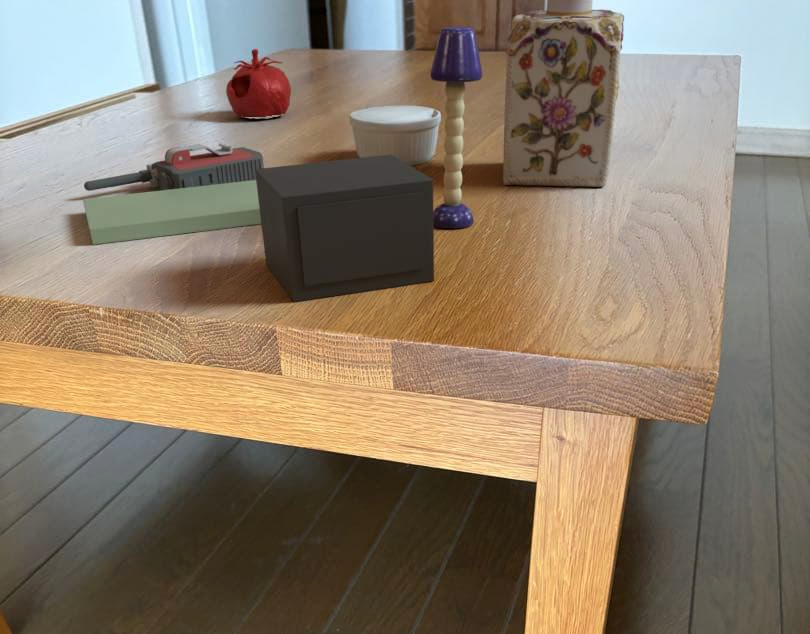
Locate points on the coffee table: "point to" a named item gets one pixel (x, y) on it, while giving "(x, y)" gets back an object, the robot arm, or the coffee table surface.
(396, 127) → the ramekin
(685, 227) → the coffee table surface
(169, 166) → the walkie-talkie
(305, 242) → the box
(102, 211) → the board
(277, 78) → the red hollow tomato
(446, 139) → the toy lamp
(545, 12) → the decorative jar
